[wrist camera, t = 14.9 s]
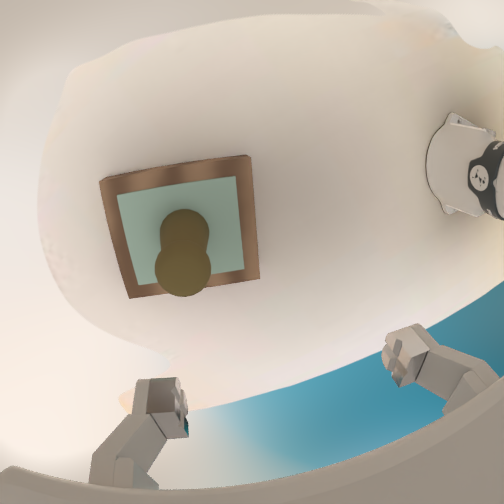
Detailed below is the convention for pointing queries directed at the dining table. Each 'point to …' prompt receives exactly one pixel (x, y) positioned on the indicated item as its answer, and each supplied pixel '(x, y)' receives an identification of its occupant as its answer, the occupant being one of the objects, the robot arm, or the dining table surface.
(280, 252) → the dining table surface
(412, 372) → the robot arm
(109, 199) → the wooden tray
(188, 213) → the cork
